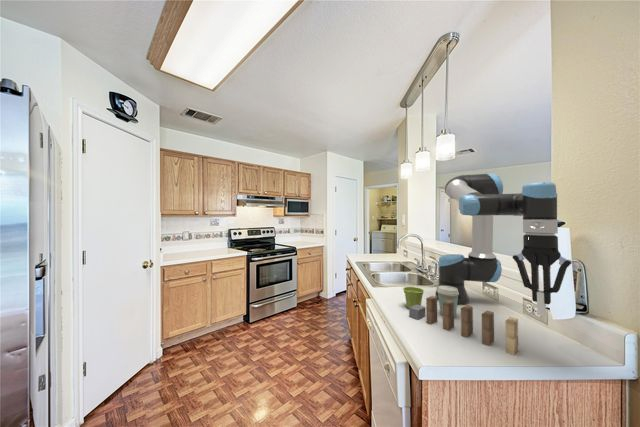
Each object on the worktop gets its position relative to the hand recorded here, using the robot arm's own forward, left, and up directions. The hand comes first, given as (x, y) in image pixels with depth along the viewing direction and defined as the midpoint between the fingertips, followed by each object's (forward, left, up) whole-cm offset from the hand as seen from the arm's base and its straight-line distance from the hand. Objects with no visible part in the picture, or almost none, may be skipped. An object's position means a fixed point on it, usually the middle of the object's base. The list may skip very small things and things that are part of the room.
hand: (541, 313), depth 68 cm
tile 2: (0, -14, -14) cm, 20 cm away
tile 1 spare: (0, -7, -14) cm, 16 cm away
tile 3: (0, -20, -14) cm, 25 cm away
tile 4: (0, -27, -14) cm, 30 cm away
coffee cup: (-12, -32, -15) cm, 37 cm away
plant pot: (-8, -46, -15) cm, 49 cm away
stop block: (0, -40, -14) cm, 42 cm away
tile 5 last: (0, -33, -14) cm, 36 cm away
